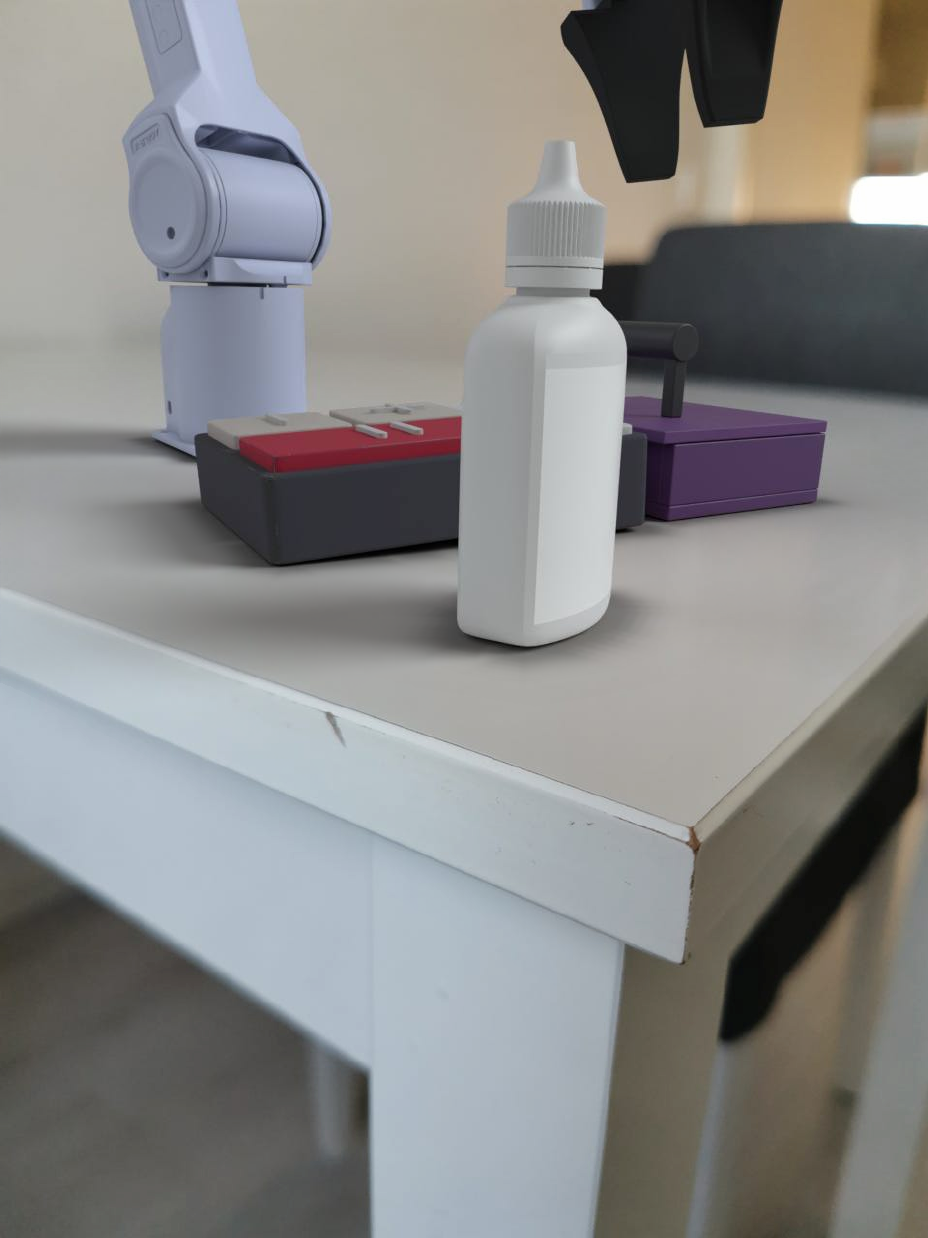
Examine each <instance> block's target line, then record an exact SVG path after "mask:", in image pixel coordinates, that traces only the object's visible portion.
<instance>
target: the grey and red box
mask: <svg viewBox="0 0 928 1238" xmlns="http://www.w3.org/2000/svg"><path fill="white" fill-rule="evenodd" d="M461 429H462V402H460V403H450V404H449V403H448V404H438V403H433V402H427V401H422V402H421V401H420V402H409V403H407V402H406V403H391V402H389V403H387V402H386V403H384V405H375V406H363V407H360V406H359V407H349V408H337V409H331V410H328V415H327V414H324V413H321V412H318V411H307V412H302V413H290V414H278V415H276V414H273V413H268V414H265V416H254V417H243V418H231V419H219V420H210V421H207V431H208V433H201V434H197V435H195V437H194V443H195V452H196V457H195V460H196V461H195V462H196V468H197V475H198V476H197V477H198V486H199V494H200V501H201V504H202V506H204V507H205V508H206V509H207V510H208V511H209V512H211V514H213V515H214V516H215V517H216V518H217V519H219V520H220V521H221V522H222V523H223V524H224V525H226V527H228V528H229V529H230V531H233V532H234V533H235V534H236V535H237V536H238V537H239V538H240V539H242V541H244V542H245V543H246V544H247V545H248V546H249V547H251V548H252V549H253V550H254V551H256V553H258V554H259V555H260V556H261V557H262V558H263V559H264V560H266V561H267V562H268V563H270V564H272V565H289V564H294V563H295V564H296V563H301V562H307V561H309V562H310V561H314V560H321V559H329V558H334V557H341V556H348V555H353V554H354V555H355V554H360V553H368V552H374V551H382V550H388V549H395V548H400V547H407V546H408V547H409V546H414V545H421V544H427V543H433V542H440V541H449V540H455V539H459V505H460V466H461ZM646 463H647V436H646V435H645V434H644V433H640V432H635V431H632V425H631V424H627V423H623V429H622V444H621V458H620V472H619V486H618V500H617V514H616V527H615V531H616V530H623V529H629V528H635V527H640V526H642V525H643V524H644V523H645V514H644V513H645V490H646Z"/></svg>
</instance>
